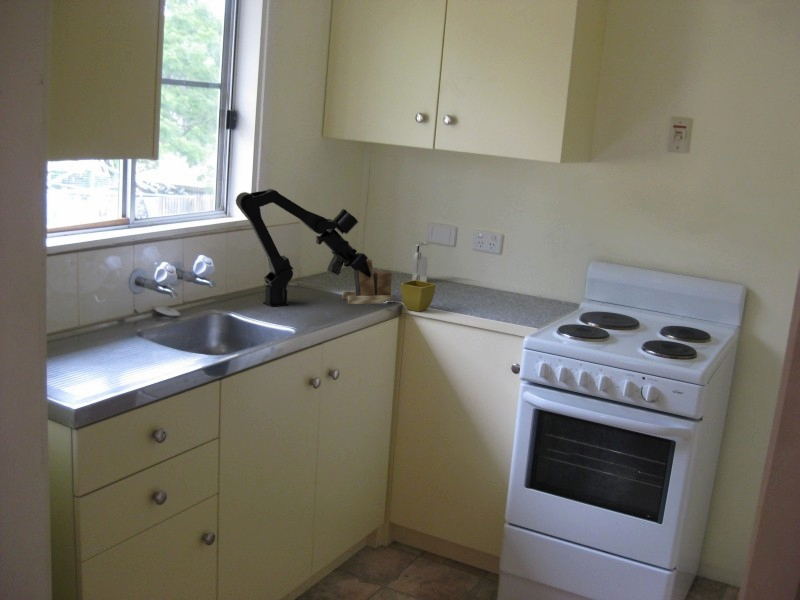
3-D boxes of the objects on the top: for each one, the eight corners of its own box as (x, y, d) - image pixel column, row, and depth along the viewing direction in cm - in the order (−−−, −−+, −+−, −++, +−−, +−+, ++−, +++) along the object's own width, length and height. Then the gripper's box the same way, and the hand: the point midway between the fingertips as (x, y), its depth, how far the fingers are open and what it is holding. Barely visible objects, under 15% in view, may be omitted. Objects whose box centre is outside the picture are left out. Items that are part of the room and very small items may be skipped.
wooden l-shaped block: (348, 304, 302) (349, 275, 299) (342, 298, 310) (343, 269, 308) (393, 303, 306) (394, 274, 304) (386, 297, 315) (387, 269, 312)
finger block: (360, 302, 304) (356, 262, 301) (356, 299, 309) (352, 260, 305) (375, 300, 306) (371, 260, 303) (370, 297, 310) (367, 258, 307)
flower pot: (435, 309, 300) (436, 283, 298) (420, 314, 293) (422, 287, 291) (413, 305, 304) (414, 279, 302) (398, 309, 297) (400, 283, 295)
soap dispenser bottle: (431, 281, 345) (433, 243, 341) (422, 284, 339) (424, 245, 335) (416, 279, 348) (418, 241, 345) (406, 281, 342) (408, 243, 339)
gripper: (313, 257, 308) (343, 287, 313) (328, 265, 290) (360, 297, 296) (335, 234, 309) (365, 265, 315) (351, 240, 292) (382, 272, 298)
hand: (367, 275), depth 306 cm, fingers closed on finger block, 5 cm apart
